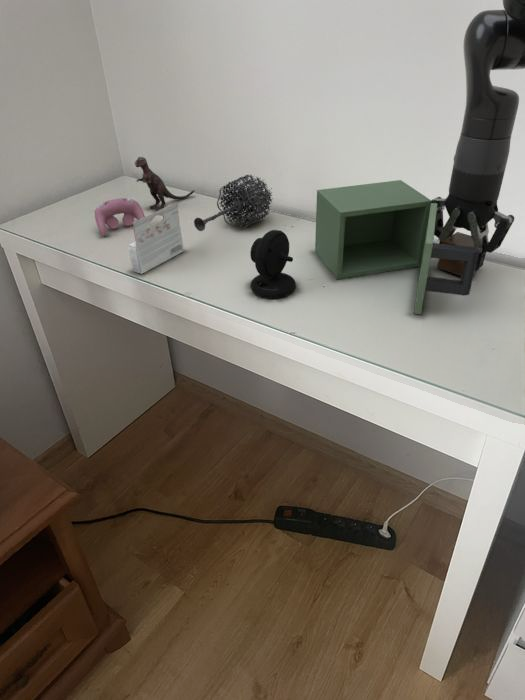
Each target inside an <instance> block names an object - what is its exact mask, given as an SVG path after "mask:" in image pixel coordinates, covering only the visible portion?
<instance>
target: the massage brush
mask: <svg viewBox="0 0 525 700" xmlns="http://www.w3.org/2000/svg"><path fill="white" fill-rule="evenodd" d="M254 177H255V175H252V174H245V175H244V176H241V177H238V178H236V179H234V180H232V181H228V183H226V184H225V185H223V186H222V187H221V188H220V189H219V196H218V198H217V201H216V206H217V208H218V210H219V211H218V212H217V214H214V215H212V216H209V217H207V218H204V219H202V218H201V217H195V218H194V220H193V224H194V227H195V229H196V230H197V231H198V232H203V231H204V230H205V229H206V225H207V223H209V222H211V221H214V220H216V219H217V218H219V217H221V216H222V217H223V220H224V222H225V223H226V224H227V225H229V226H233V227H235V228H237V229H239V230H241V229H245V228H247V227H250V226H251V225H253V224H255V223H257V222H259V221H261V220H263V219H264V218H266V217H267V216H268V215H270V210H271V207H272V206H271V204H273V200H274V198H273V197H272V196H273V192H272V191H271V190H272V189H273V188H272V187H270V189H269V186H268V184H267V182H264V180H261V179H262V177H258V176H256V177H255V178H254ZM219 201H220V202H219ZM221 208H222V209H221Z"/></svg>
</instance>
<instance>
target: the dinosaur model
mask: <svg viewBox="0 0 525 700" xmlns="http://www.w3.org/2000/svg"><path fill="white" fill-rule="evenodd" d="M134 166H135V167H136V168H141V170H142V177H141V178H137V179H136V183H138V182H142V183H145V184H146V186H147V187H148V189H149V193H150V196H152V199H154V200H155V203H154V204H153V205H149V209H150V210H154V209H155V210H156V211H155V212H157V211H159V210H161V209H163V208H165V207H166V205H167V203H166V201H165V198H166V199H168V198H169V199H172V200H174V201H176V200H185V199H187V198H189V197H190V196H191V195H193V194H194V192H195V190H192V191H191V192H189V193H187V194H186V195H182V196H179V195H174V194H173V193H172V192H171V191H170V190H169V189H168V188H167V187H166V184H165V183H164V182H165V181H164V180H163V179H162V178H161V177H160V176H159V175H158V174H157V173H155V172H154V171H153V170H152V169H151V168H150V167H149V164H148V161H147V159H146V157H144V156H138V157H137V158H136V160H134ZM159 205H160V206H159Z"/></svg>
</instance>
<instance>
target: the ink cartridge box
mask: <svg viewBox="0 0 525 700" xmlns="http://www.w3.org/2000/svg"><path fill="white" fill-rule="evenodd" d="M156 216H162V219H160V220H158V221H155V222H154V223H151V222H152V221H153V220H154V219H155V217H156ZM132 228H133V235H134V241H133V242H132V243H129V244H128V245H127V248H128V253H129V257H130V258H129V259H130V262H131V267H132V272H134V273H137V274H139V275H143V274H144V273H146V272H149V271H150V270H153V269H154V268H156V267H158V266H159V265H161V264H163V263H165V262H167V261H168V260H171V259H172V258H174V257H177V256H178V255H180V254H181V253H184V251H185V249H184V248H185V247H184V243H183V237H182V230H181V225H180V214H179V205H178V201H175V202H174V203H171V204H169V205H167V206H164V208H163V209H161V210H159V211H155V212H152V213H150V214H147V215H145V217H143V218H141V219H139V220H138V219H136V220H134V222H133V224H132Z"/></svg>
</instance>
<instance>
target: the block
mask: <svg viewBox="0 0 525 700" xmlns="http://www.w3.org/2000/svg"><path fill="white" fill-rule="evenodd" d="M442 244H448V245H459V246H469V247H474V241H473V239H472V238H471V234H470V235H469V234H466V233H463V232H460V231H457V232H456V231H455V232H454V234H453V235H451V236H450V237H448V238H446V239H445V240H443V241H442ZM464 262H465V261H459V260H449V259H439V258H438V263H437V269H440V270H443V271H446V272H449V273H452V274H455V275H458V276H462V271H463V267H464Z"/></svg>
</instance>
